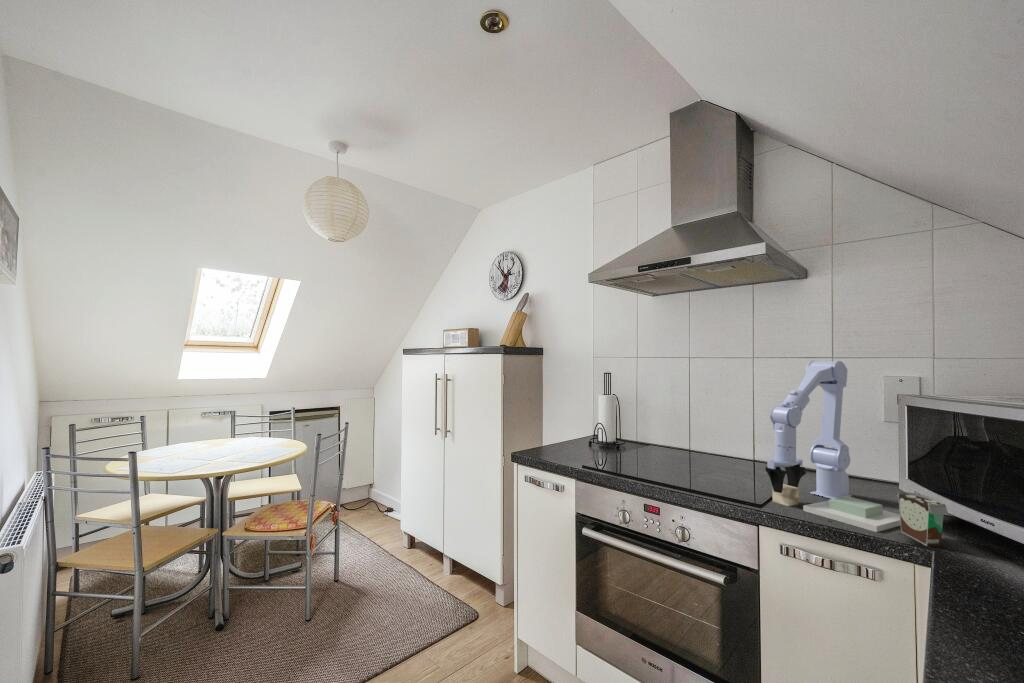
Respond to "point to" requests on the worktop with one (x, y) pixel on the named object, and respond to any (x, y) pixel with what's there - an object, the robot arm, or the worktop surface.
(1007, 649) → the worktop surface
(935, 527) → the food container
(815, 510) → the base board
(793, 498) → the maple cube
